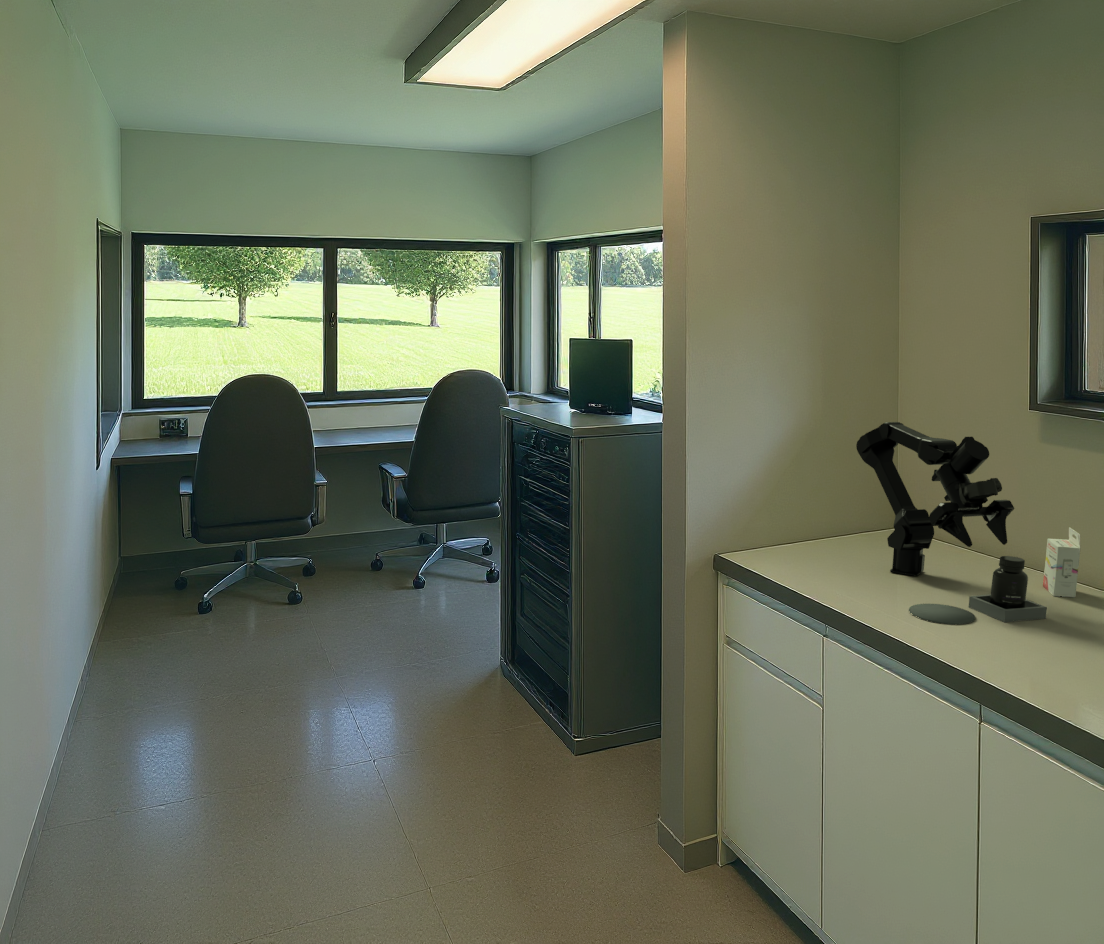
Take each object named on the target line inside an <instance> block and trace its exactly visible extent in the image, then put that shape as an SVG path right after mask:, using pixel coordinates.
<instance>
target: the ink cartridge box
mask: <svg viewBox="0 0 1104 944" xmlns="http://www.w3.org/2000/svg"><path fill="white" fill-rule="evenodd" d="M1045 552H1046V553H1045V562H1044V572H1043V582H1042V587H1043V588H1044V589H1045V590H1046V591H1047V592H1048V593H1049V594H1051V595H1052V596H1053V597H1060V596H1062V597H1063V598H1076V595H1077V585H1078V577H1079V576H1078V575H1079V566H1080V556H1081V534H1080V533H1079V532H1078V531H1076V530H1074V529H1073V528H1071V526H1070V527H1068V539H1065V538H1064V539H1061V538H1049V537H1048V538H1047V539H1046V551H1045Z"/></svg>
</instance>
